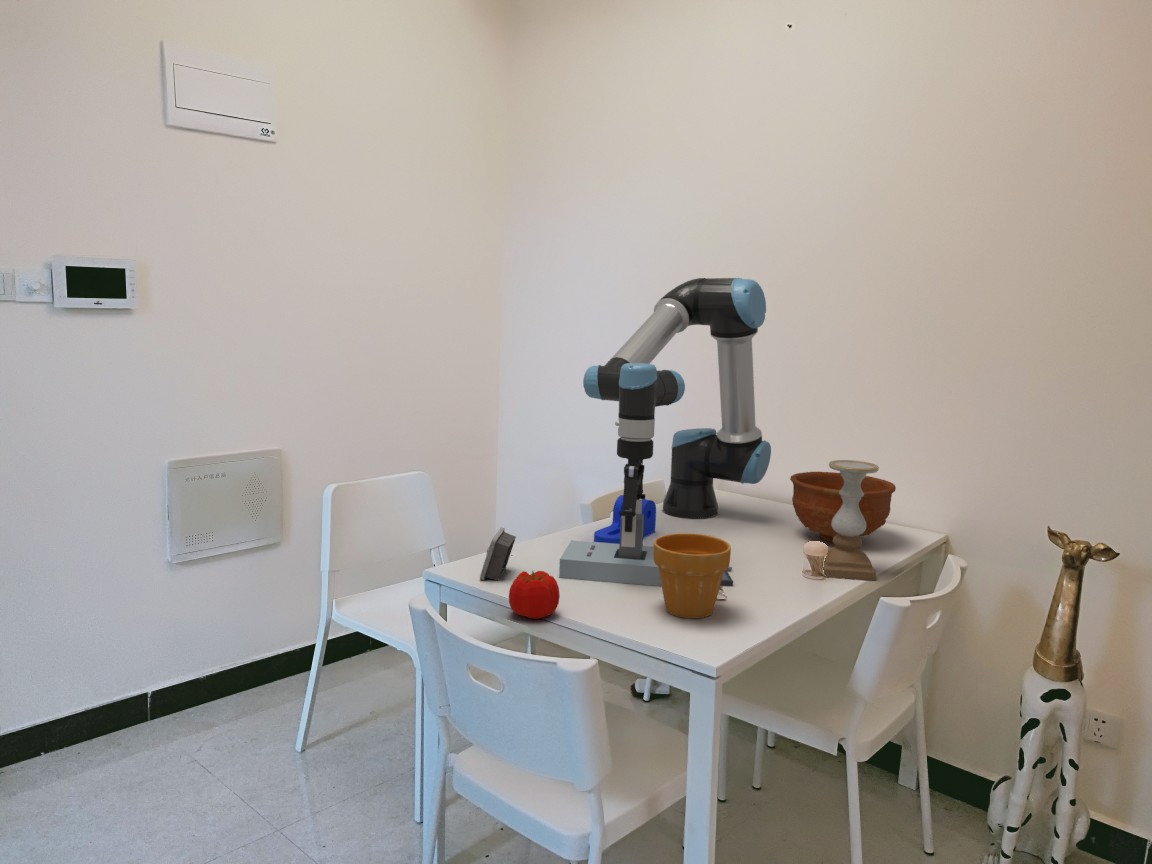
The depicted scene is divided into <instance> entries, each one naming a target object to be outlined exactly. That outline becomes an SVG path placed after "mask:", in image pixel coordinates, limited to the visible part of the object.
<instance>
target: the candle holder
mask: <svg viewBox="0 0 1152 864" xmlns="http://www.w3.org/2000/svg"><path fill="white" fill-rule="evenodd" d="M828 466H829V468H830V469H832V470H834V471H837V472H838V471H839V473H840V475H841V476H842V478H843V480H844V485H843V487H842V489H841V490H840V491H839V494H840V495H841V498H842V501H843V503H842V506H841V508H840V509H839V510H838V512H837V513H836V514H835V515H834V517H833V519H832V522H831V525H832V528H833V529H834V531H835V532H837V534H836V535H835V536H834V537H833V542H832V543H833V544H834V546H833V547H830V548H827V549H828V553H827V556H826V558H825V561H824V567H823V570H824V574H825V575H826V576H827V577H826V578H829V577H835V578H834V579H841V578H845V579H844V580H855V579H861V580H860V581H873V582H874V581H876V575H877V574H876V573H877V572H876V570H875V568H874V567H873V565H872V562H871V560H870V558H869V556H867V554H866V553H865V552H864V551H862V550H861V549H860V547H861V546H863V540H862V538H861V537H859V535H860V534H862V533H864V531H865V530H866V521H865V519H864V517H863V515H862V513H861V511H860V509H859V501H860V500H861V497H863V496H864V493H863V492H862V490H861V482H862V480H863V479H864V478H865V477H866V476H867V474H875V473H878V471H879V467H880V466H879V465H877V464H874V463H871V462H867V461H863V460H862V461H861V460H854V459H853V460H849V459H837V460H831V461H830V462H829V463H828Z"/></svg>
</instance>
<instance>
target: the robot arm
mask: <svg viewBox="0 0 1152 864" xmlns="http://www.w3.org/2000/svg"><path fill="white" fill-rule="evenodd" d="M766 313H767V302H766V297H765V292H764V291H763V288H762V286H761V285H760V284H759V283H758V282H757V281H756V280H755V279H750V278H748V279H747V278H742V277H741V278H740V277H731V278H730V277H722V278H721V277H720V278H719V277H718V278H715V277H714V278H712V277H711V278H709V277H707V278H705V277H699V278H698V277H697V278H693V279H689V280H687V281H685V282H683V283H681V284H679V285H677V286H675V287H674V288H673V289H671V290H670V291H668V292H667V293H666V294H664V296H662V297H661V298H660V299H659V300H658V301H657V302H656V304H655V305H654V308H653V313H651V315H650V316H649V317H648V318H647V319H646V320H645V322H643V323H642V325H640V327H639V328H638V329H637V330H635V332H634V333H633V334H632V335H631V336H630V337H629V338H628V340H627V341H626V342H625V343H624V344H623V345H622V346H621V347H620V348H619V349H618V350H617V351H616V353H615V354H613V356H612V357H610V359H609V360H608V361H607V362H606V363H605V364H604V365H601V364H598V365H591V366H589V367H588V368H587V369H586V370H585V373H584V376H583V381H582V383H583V388H584V392H585V394H586V395H587V397H589V398H591V399H597V400H601V401H612V402H618V415H617V416H618V419H617V421H615V423H614V425H615V426H616V427H618V428H617V435H618V437H619V438H618V439H617V440H616V441H617V442H616V455H617V456H618V457H619V458H622V459H627V463H625V466H623V474H624V475H623V477H624V478H623V494H622V495H623V506H622V511H619V516H622V540H621V546H622V547H635V531H636V514H641V512H642V499H646V494H644V490H643V489H644V488H643V484H644V472H645V464H643V463H644V460H648V459H651V458H652V457H653V455H654V440H653V438H655V423H656V419H655V414H656V413H655V412H656V408H657V407H662V406H670V405H672V404H675V403H678V402H679V401H681V399H682V398H683V396H684V394H685V391H686V384H685V380H684V378H683V376H682V375H681V374H680V373H679V372H677V371H675V370H671V369H662V370H657V367H656V365H655V364H652V361H653V360H655V358H656V357H657V356H658V355H659V354H660V352H661V351H662V350H663V349H664V348H665V347H666V346H667V345H668V343H669V342H670V341H671V340H672V339H673V338H674V336H675V335H676V334H679V333H682V332H684V331H685V330H686V329H687V328H688V327H690V326H696V325H697V326H698V325H700V326H709V329H710V331H709V332H710V336H711V338H713V339H714V340H715V341H716V344H717V359H718V360H717V362H718V363H717V364H718V378H719V379H718V381H719V394H720V395H719V396H720V398H719V399H720V413H721V415H720V417H721V428H720V429H719V430H718V431H717V430H716V428H711V427H710V428H707V427H701V428H700V427H698V428H689V429H681V430H678V431H676V432H674V434H673V435H672V436H673V437H672V441H671V442H672V443H671V459H670V460H671V463H670V483H669V486H668V488H667V491H666V494H665V495H664V496H665V497H664V499H663V503H662V511H663V513H665V514H667V515H670V516H672V517H678V518H684V519H686V518H687V519H707V518H708V519H709V518H713V517H715V516H718V513H719V504H718V499H717V496H716V493H715V489H714V479H716V480H723V481H730V482H734V483H741V484H751V485H755V484H756V485H757V484H759V483H760V482H761V481H762V480H763V478H764V477H765V475H766V473H767V471H768V469H769V465H770V462H771V456H772V455H771V454H772V446H771V444H770V442H769V441H766V440H763V434H762V433H763V432H762V430H761V429H760V428H759V427H757V425H756V405H755V380H754V379H755V377H754V361H753V360H754V357H753V354H754V353H753V338H754V337H755V336H756V335H757V334H758V333H759V330H758V328H760V327H761V326H763V324H764V322H765V320H766Z"/></svg>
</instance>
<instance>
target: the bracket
mask: <svg viewBox="0 0 1152 864" xmlns="http://www.w3.org/2000/svg"><path fill="white" fill-rule="evenodd" d="M641 500H642V512H641V514H644V525H643V538H645V537H648V536H651V535H653V534H654V533H656V522H657V506H656V502H655V501H654V500H651V499H646V498H645V499H641ZM622 506H623V494H622V495H621V494H620V495H619V496H618V497H617V498H616V500H615V501H614V504H613V507H612V522H611V523H610V525H609V526H605V527H603V528H600V529H598V530H596V531H594V533H593V535H594V536H593V542H601V543H614V544H620V519H621V516H619V511H622Z"/></svg>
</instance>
